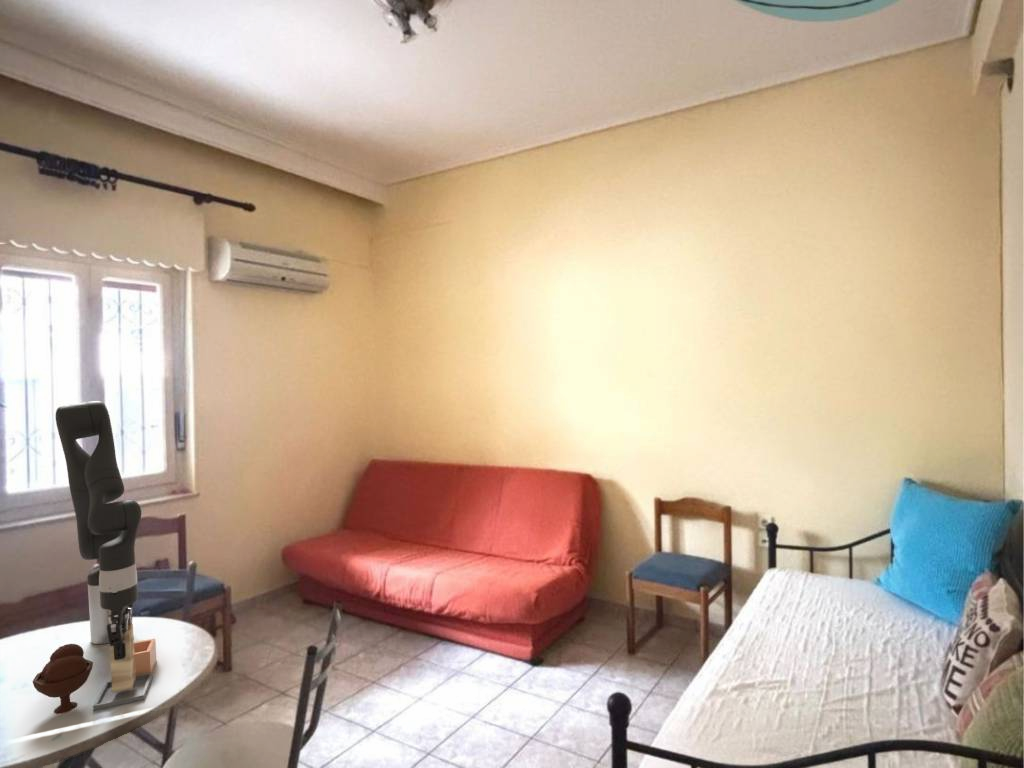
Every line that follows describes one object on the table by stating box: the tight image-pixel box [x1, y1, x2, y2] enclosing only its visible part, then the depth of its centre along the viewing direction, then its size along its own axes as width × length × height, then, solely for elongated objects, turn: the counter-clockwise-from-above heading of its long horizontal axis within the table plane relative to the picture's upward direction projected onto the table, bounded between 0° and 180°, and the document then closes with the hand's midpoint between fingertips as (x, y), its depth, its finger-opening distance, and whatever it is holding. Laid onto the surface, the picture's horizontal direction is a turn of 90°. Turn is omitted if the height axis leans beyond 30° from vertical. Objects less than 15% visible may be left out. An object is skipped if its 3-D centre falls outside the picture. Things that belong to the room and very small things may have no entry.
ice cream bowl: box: [31, 643, 94, 715], centre depth 132 cm, size 11×11×15 cm
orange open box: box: [134, 638, 158, 675], centre depth 147 cm, size 8×8×7 cm
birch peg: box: [109, 623, 136, 692], centre depth 137 cm, size 4×4×14 cm
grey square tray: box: [92, 671, 154, 712], centre depth 137 cm, size 11×10×2 cm
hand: (122, 653), depth 137 cm, fingers closed on birch peg, 4 cm apart
